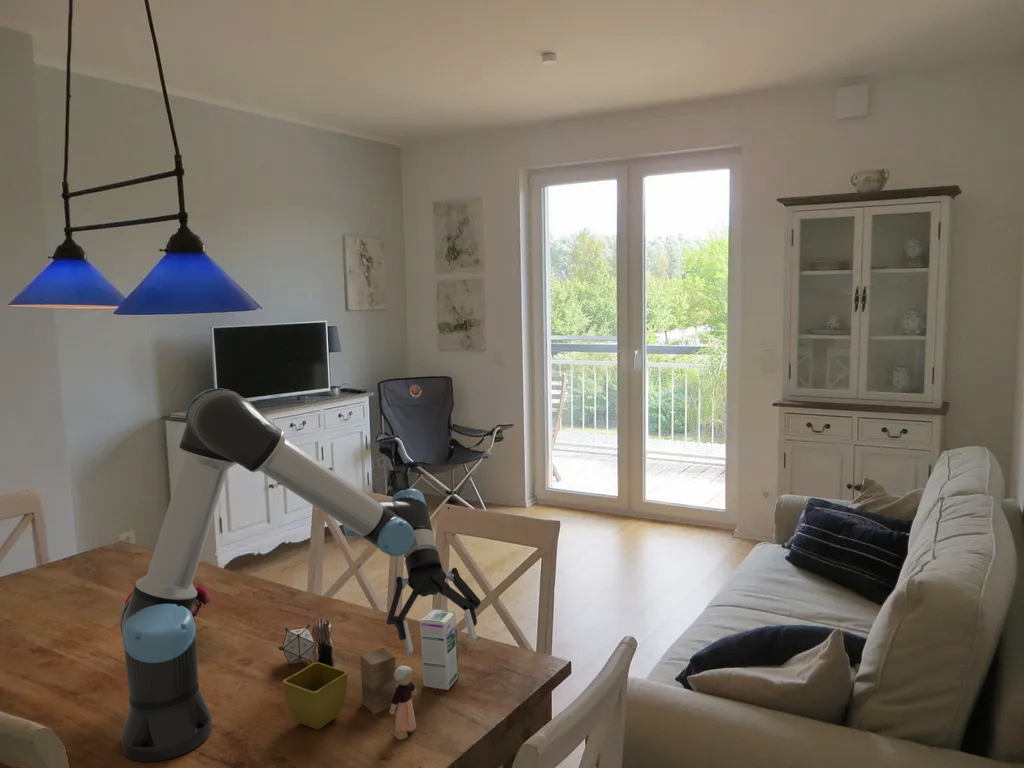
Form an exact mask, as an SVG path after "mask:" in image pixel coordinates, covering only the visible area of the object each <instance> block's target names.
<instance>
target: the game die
mask: <svg viewBox="0 0 1024 768" xmlns="http://www.w3.org/2000/svg"><path fill="white" fill-rule="evenodd" d="M310 627H311V624H310V623H309V624H307V626H306V627H301V628H296V629H289V628H288V627H284V630H285V631H286V633H285V637H284V639H283V642H282V645H281V646H279V647H278V650H279V651H282V652H283V655H284V656H285V658H286V660H287V663H288V664H287V668H290V666H291V665H293V664H299V663H305V662H309V663H310V664H313V661H312V660H311V659H312V657H313V654H314V650H315V648H314V641H313V638H314V636H313V635H312V633H311V630H310Z"/></svg>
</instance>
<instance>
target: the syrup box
mask: <svg viewBox="0 0 1024 768" xmlns="http://www.w3.org/2000/svg"><path fill="white" fill-rule="evenodd" d="M419 628H420V646H421V664H422V665H421V666H422V679H423V686H424V687H427V688H430V687H431V688H430V689H437V688H438V690H444V689H445V690H446V691H449V689H450V688H451V687H452V686H453V685H454V683H455V682H456V681H457V680H458V678H459V677H460V673H459V672H460V671H459V668H460V667H459V653H458V652H459V650H458V649H459V648H458V634H457V633H458V632H457V631H458V630H457V615H456V612H455V611H451V610H445V609H431V610H430V611H429V612H428V613H427V614H426V615H425V616H424V617H422V618H421V619H420V620H419ZM445 690H444V691H445Z"/></svg>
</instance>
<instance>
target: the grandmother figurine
mask: <svg viewBox="0 0 1024 768" xmlns="http://www.w3.org/2000/svg"><path fill="white" fill-rule="evenodd" d="M412 673H413V669H412V668H411V667H410V666H407V665H400V666H398V667H397V668H396V670H395V672H394V677H395V680H396V683H398V684H397V686H396V691H395V694H394V696H393V699H392V702H391V708H389V709H388V710H389V712H388V713H389V714H390V715H395V721H394V722H395V724H394V730H395V732H394V734H393V736H394V738H396V739H398V740H405V739H408V736H409V733H412V732H414V731H415V729H416V728H417V725H416V718H415V713H414V708H413V707H414V706H413V701H412V696H416V694H417V692H418V691H417V690H416V688H415V687H416V686H415V684H414V683H413V682H412V681H411V679H412V676H411V674H412Z"/></svg>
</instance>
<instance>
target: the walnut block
mask: <svg viewBox="0 0 1024 768" xmlns="http://www.w3.org/2000/svg"><path fill="white" fill-rule="evenodd" d="M359 658H360V671H361V672H360V677H361V693H362V694H361V695H362V696H361V697H362V698H361V699H362V705H364V707H366V708H367V709H368V711H370V713H372V714H373V715H376V714H378V713H381V712H384V711H386V709H387V710H390V709H391V702H392V699H393V696H394V694H395V691H396V688H397V681H396V680H395V677H394V672H395V670H396V669H397V668H396V657H395V656H394V655H393V654H392V653H390V652H389V651H388V650H386V649H385V648H384V647H382V648H379V649H376V650H373V651H369V652H367V653H364V654H360V657H359ZM383 710H384V711H383Z"/></svg>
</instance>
